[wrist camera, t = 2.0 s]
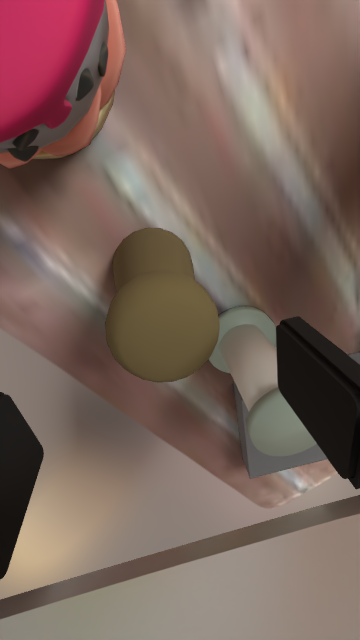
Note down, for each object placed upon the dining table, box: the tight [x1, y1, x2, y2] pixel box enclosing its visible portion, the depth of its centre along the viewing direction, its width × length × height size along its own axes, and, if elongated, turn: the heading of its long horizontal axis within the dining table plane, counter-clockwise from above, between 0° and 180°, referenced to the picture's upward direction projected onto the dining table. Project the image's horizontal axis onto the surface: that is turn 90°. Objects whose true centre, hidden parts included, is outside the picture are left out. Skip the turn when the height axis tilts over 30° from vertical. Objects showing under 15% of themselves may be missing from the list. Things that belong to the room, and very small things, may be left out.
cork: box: [105, 228, 220, 382], centre depth 16 cm, size 6×6×11 cm
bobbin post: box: [209, 306, 317, 456], centre depth 20 cm, size 6×6×10 cm
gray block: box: [233, 352, 360, 479], centre depth 29 cm, size 20×12×2 cm, turn 101°
